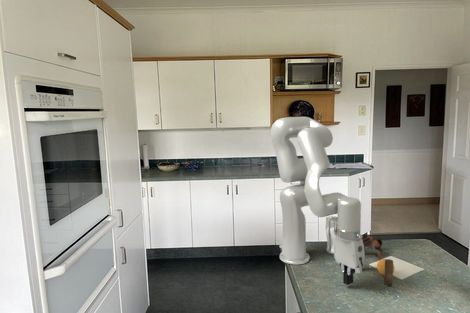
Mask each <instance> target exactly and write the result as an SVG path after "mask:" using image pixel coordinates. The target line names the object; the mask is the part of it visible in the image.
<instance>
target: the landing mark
mask: <svg viewBox="0 0 470 313" xmlns="http://www.w3.org/2000/svg"><path fill="white" fill-rule="evenodd" d="M383 259H390V260H393V265H394V268H395V269H394V272H393V277H395V278H397V279H399V280H405V279H406V278H409V277H411V276H413V275H416V274H418V273H420V272H423V271H424V270H425V269H424V268H422V267H419V266H417V265H414V264H412V263H410V262H407V261H405V260H403V259H400V258H398V257H395V256H392V255H390V256H387V257H384V258H383ZM380 260H381V259H379V260H377V261H375V262H372V263H369V264H368V265H369V266H371V267H373V268H375V269H377V263H378V262H379V261H380Z"/></svg>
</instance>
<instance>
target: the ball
mask: <svg viewBox="0 0 470 313" xmlns="http://www.w3.org/2000/svg"><path fill="white" fill-rule="evenodd" d="M379 260H380V261H379ZM379 260H378V261H379V262H378V263H377V268H376V270H377V272H378V273H379V274H381V275H383V276H384V277H385V260H386V259H384V258H382V259H379ZM394 269H395V268H394V265H393V272H394Z"/></svg>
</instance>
